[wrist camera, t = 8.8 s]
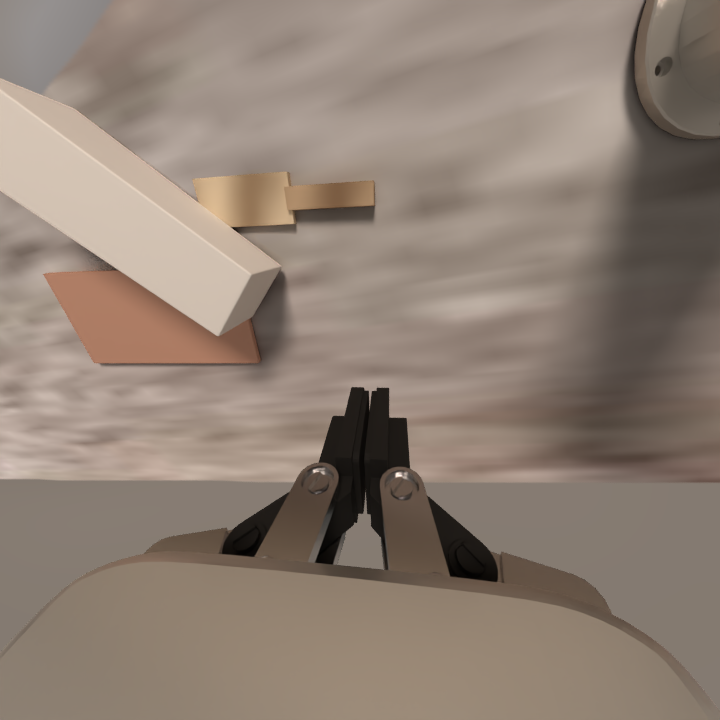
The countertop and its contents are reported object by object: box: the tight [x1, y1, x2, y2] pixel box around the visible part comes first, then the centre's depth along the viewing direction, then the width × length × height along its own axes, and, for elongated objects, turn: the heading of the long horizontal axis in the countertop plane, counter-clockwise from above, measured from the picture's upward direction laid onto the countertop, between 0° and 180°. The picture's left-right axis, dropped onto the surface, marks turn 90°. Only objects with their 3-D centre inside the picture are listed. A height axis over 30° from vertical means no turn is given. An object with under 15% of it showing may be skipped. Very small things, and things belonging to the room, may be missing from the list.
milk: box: [0, 78, 282, 336], centre depth 20 cm, size 6×6×22 cm
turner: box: [192, 172, 375, 227], centre depth 22 cm, size 15×4×1 cm, turn 92°
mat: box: [43, 270, 261, 363], centre depth 28 cm, size 10×20×1 cm, turn 93°
